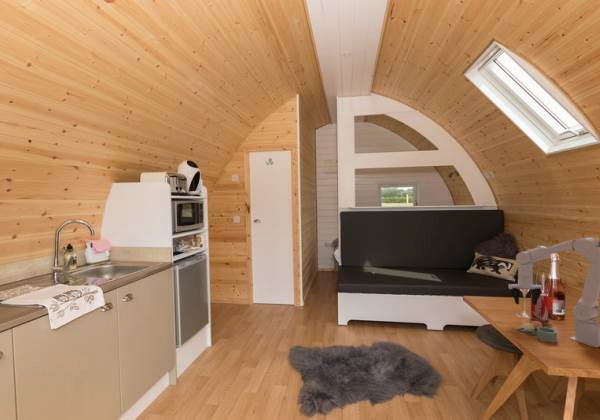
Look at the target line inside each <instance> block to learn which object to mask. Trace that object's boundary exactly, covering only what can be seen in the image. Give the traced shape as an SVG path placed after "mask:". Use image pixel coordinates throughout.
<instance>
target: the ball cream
mask: <svg viewBox="0 0 600 420" xmlns="http://www.w3.org/2000/svg"><path fill="white" fill-rule="evenodd" d="M522 327H523V328H524V330H525V331H527V332H532V331H533V330H534V326H533V325H532V323H529V322H526V323H524V324H523V326H522Z"/></svg>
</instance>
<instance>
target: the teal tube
mask: <svg viewBox="0 0 600 420" xmlns="http://www.w3.org/2000/svg"><path fill="white" fill-rule="evenodd" d="M536 338H537V339H538V340H539V341H542V342H546V343H557V342H558V332H557V330H556V329H554V328H551V327H546V326H542V327H537V335H536Z"/></svg>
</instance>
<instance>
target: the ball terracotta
mask: <svg viewBox="0 0 600 420" xmlns="http://www.w3.org/2000/svg"><path fill="white" fill-rule="evenodd" d="M531 324H532V325H533V326H534V329H536V330H537V327H543V324H542V323H541V321H539V320H534V321H532V322H531Z"/></svg>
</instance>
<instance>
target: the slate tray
mask: <svg viewBox="0 0 600 420" xmlns="http://www.w3.org/2000/svg"><path fill="white" fill-rule="evenodd" d="M516 331H517V332H521V333H522V334H525V335H529V336H532V337H533V336H534V337H535V336H537V330H536V329H534V330H533V331H532V332H527V331H525V330H524V328H523V326H522V327H519V328H516Z"/></svg>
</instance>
